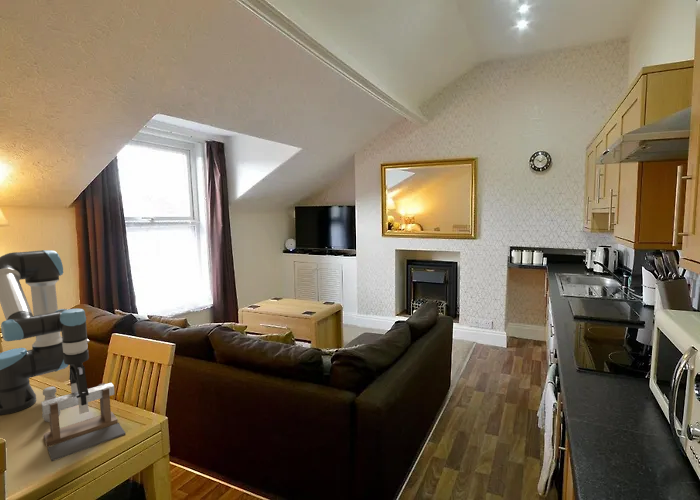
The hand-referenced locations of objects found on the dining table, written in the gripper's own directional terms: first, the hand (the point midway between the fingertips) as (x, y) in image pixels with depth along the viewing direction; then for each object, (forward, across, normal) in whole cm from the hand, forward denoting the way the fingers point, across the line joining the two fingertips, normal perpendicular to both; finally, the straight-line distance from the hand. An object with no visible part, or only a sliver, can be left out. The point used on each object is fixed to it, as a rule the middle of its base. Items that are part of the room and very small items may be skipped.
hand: (80, 405), depth 146 cm
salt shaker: (+10, +17, +7) cm, 21 cm away
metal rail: (-1, 0, 0) cm, 1 cm away
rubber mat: (+10, -10, 0) cm, 14 cm away
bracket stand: (+10, 0, 0) cm, 10 cm away
